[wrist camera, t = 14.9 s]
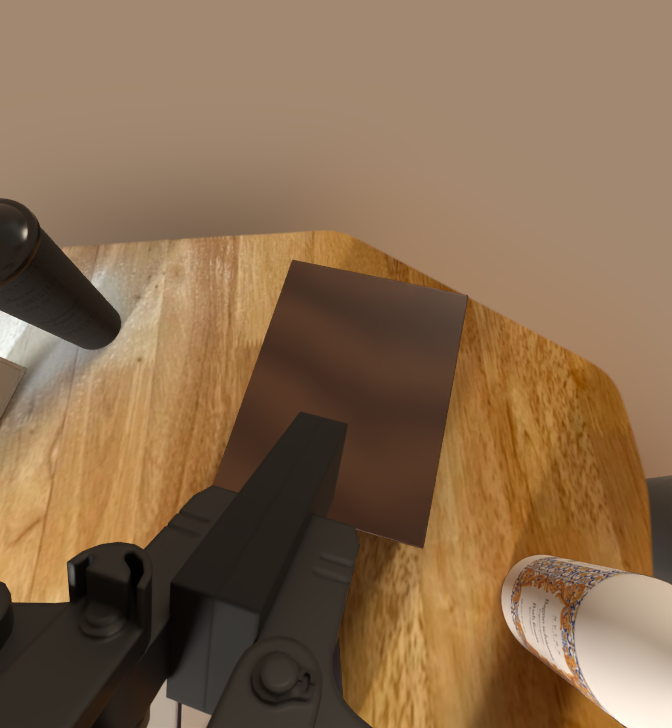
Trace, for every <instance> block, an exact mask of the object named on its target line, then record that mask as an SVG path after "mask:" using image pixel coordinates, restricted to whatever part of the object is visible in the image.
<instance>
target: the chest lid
mask: <svg viewBox="0 0 672 728" xmlns="http://www.w3.org/2000/svg"><path fill="white" fill-rule="evenodd" d="M467 301H468V295H463V294H459V293H454V292H449V291H444V290H439V289H434V288H429V287H424V286H419V285H414V284H409V283H404V282H400V281H395V280H390V279H385V278H380V277H375V276H370V275H365V274H360V273H355V272H350V271H345V270H341V269H336V268H331V267H326V266H321V265H316V264H311V263H306V262H301V261H296V260H292V262H291V265H290V268H289V271H288V274H287V277H286V279H285V282H284V285H283V288H282V291H281V294H280V296H279V299H278V302H277V305H276V308H275V311H274V313H273V316H272V319H271V322H270V325H269V328H268V330H267V333H266V336H265V339H264V342H263V345H262V348H261V350H260V353H259V356H258V359H257V362H256V365H255V367H254V370H253V373H252V376H251V379H250V382H249V384H248V387H247V390H246V393H245V396H244V399H243V402H242V404H241V407H240V410H239V413H238V416H237V419H236V421H235V424H234V427H233V430H232V433H231V436H230V438H229V441H228V444H227V447H226V450H225V453H224V455H223V458H222V461H221V464H220V467H219V470H218V473H217V475H216V478H215V481H214V484H213V485H214V486H218V487H221V488H224V489H228V490H231V491H234V492H238V493H239V491H240V490H241V489H242V487H243V486H244V485H245V483H246V482H247V481H248V479H249V478H250V477H251V475H252V474H253V473H254V472H255V470H256V469H257V468H258V466H259V465H260V464H261V462H262V461H263V460H264V458H265V457H266V456H267V454H268V453H269V452H270V451H271V449H272V448H273V447H274V445H275V444H276V443H277V441H278V440H279V439H280V437H281V436H282V435H283V433H284V432H285V431H286V430H287V428H288V427H289V426H290V424H291V423H292V422H293V420H294V419H295V418H296V416H297V415H298V414H299V412H300V411H301V412H305V413H309V414H313V415H317V416H321V417H325V418H328V419H332V420H336V421H340V422H344V423H348V427H347V432H346V437H345V443H344V448H343V453H342V458H341V463H340V468H339V473H338V478H337V483H336V489H335V494H334V499H333V501H332V504H331V507H330V509H329V512H328V514H327V517H326V518H329V519H333V520H336V521H339V522H343V523H346V524H349V525H353V526H355V529H356V530H359V531H362V532H366V533H369V534H373V535H376V536H380V537H383V538H387V539H390V540H394V541H397V542H401V543H404V544H408V545H411V546H415V547H418V548H422V549H423V548H424V542H425V537H426V531H427V525H428V520H429V514H430V509H431V503H432V497H433V492H434V486H435V481H436V475H437V469H438V464H439V458H440V452H441V447H442V441H443V436H444V430H445V424H446V419H447V413H448V408H449V402H450V396H451V391H452V385H453V379H454V374H455V368H456V363H457V357H458V351H459V346H460V340H461V334H462V329H463V323H464V318H465V312H466V306H467Z"/></svg>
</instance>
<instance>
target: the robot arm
mask: <svg viewBox="0 0 672 728" xmlns="http://www.w3.org/2000/svg"><path fill="white" fill-rule="evenodd" d="M347 427H348V423H344V422H340V421H336V420H332V419H328V418H325V417H321V416H317V415H313V414H309V413H305V412H301V411H300V412H299V414H298V415H297V416H296V418H295V419H294V420H293V422H292V423H291V424H290V426H289V427H288V428H287V430H286V431H285V432H284V433H283V435H282V436H281V437H280V439H279V440H278V441H277V443H276V444H275V445H274V447H273V448H272V449H271V451H270V452H269V453H268V454H267V456H266V457H265V458H264V460H263V461H262V462H261V464H260V465H259V466H258V468H257V469H256V470H255V472H254V473H253V474H252V475H251V477H250V478H249V479H248V481H247V482H246V483H245V485H244V486H243V487H242V489H241V490H240V491H239V493H238V492H234V491H231V490H228V489H224V488H221V487H218V486H214V485H213V486H211V487H209V488H207V489H205V490H203V491H201V492H199V493H197V494H196V495H194V496H193V497H192V498H191V499H190V500H189V501H188V502H187V503H186V504H185V505H184V507H183V508H182V509H181V510H180V512H179V514H176V515H175V516H174V517H173V518H172V520H171V521H170V522H169V523H168V525H167V527H166V526H165V527H164V528H163V529H162V530H161V531H160V533H159V534H158V535H157V536H156V537H155V538H154V539H153V540H152V541H151V542H150V543H149V544H148V546H147V547H146V548H145V549H142V548H140V547H139V546H137V545H135V544H129V543H123V542H115V543H107V544H100V545H98V546H95V547H92V548H90V549H87V550H85V551H82V552H81V553H79V554H78V555H77V556H75V557H74V558H72V559H71V560H69V561H68V562H67V570H68V583H69V597H70V602H63V603H13V602H12V600H11V593H10V592H9V590H8V588H7V586H6V584H5V583H3V582H0V728H147V726H148V723H149V721H150V705H151V703H152V702H153V700H154V699H155V697H156V695H157V694H158V692H159V690H160V689H161V687H162V685H163V684H164V682H165V680H166V679H167V688H166V698H169V699H171V700H174V701H176V702H179V703H181V704H184V705H186V706H189V707H191V708H193V709H196V710H198V711H201V712H203V713H206V714H208V715H211V718H210V720H209V722H208V725H207V727H206V728H372V727H371V726H370V725H369V724H367V723H366V722H365V721H364V720H363V719H361V718H360V717H359V716H358V715H357V714H356V713H355V712H354V711H353V710H352V709H351V708H350V707H349V706H348V705H347V703H346V702H345V700H344V699H343V697H342V695H341V694H340V692H339V690H338V688H337V685H336V682H335V679H334V675H333V667H332V658H333V654H334V650H335V646H336V641H337V637H338V633H339V629H340V625H341V621H342V617H343V613H344V609H345V605H346V601H347V597H348V592H349V588H350V584H351V580H352V575H353V571H354V567H355V562H356V558H357V554H358V549H359V541H358V537H357V533H356V529H355V526H353V525H349V524H346V523H343V522H339V521H336V520H333V519H329V518H326V517H327V514H328V512H329V509H330V507H331V504H332V501H333V499H334V494H335V489H336V483H337V478H338V473H339V468H340V463H341V458H342V453H343V448H344V443H345V437H346V432H347Z"/></svg>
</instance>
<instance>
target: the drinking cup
mask: <svg viewBox="0 0 672 728" xmlns="http://www.w3.org/2000/svg"><path fill="white" fill-rule="evenodd" d="M0 310H1V311H3V312H5V313H7V314H9V315H12V316H14V317H16V318H18V319H20V320H23V321H25V322H27V323H29V324H31V325H34V326H36V327H38V328H40V329H42V330H45V331H47V332H49V333H51V334H53V335H56V336H58V337H60V338H62V339H64V340H67V341H69V342H71V343H73V344H75V345H78V346H80V347H82V348H85V349H90V350H93V349H99V348H102V347H104V346H106V345H108V344H109V343H111V342H112V341H113V340H114V339H115V337H116V336H117V334H118V333H119V330H120V327H121V319H120V316H119V314H118V312H117V311H116V310H115V309H114V308H113V307H112V306H111V305H110V303H109V302H108V301H107V300H106V299H105V298H104V297H103V296H102V295H101V294H100V292H99V291H98V290H97V289H96V288H95V287H94V286H93V285H92V284H91V282H90V281H89V280H88V279H87V278H86V277H85V276H84V275H83V274H82V273H81V271H80V270H79V269H78V268H77V267H76V266H75V265H74V264H73V263H72V261H71V260H70V259H69V258H68V257H67V256H66V255H65V254H64V253H63V251H62V250H61V249H60V248H59V247H58V246H57V245H56V244H55V243H54V242H53V240H52V239H51V238H50V237H49V236H48V235H47V234H46V233H45V232H44V231H43V230H42V228H41V227H40V225H39V222H38V220H37V218H36V216H35V215H34V214H33V213H32V212H31V211H30V210H29V209H28V208H27V207H26V206H24V205H23V204H21V203H19V202H16V201H13V200H9V199H2V198H0Z"/></svg>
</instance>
